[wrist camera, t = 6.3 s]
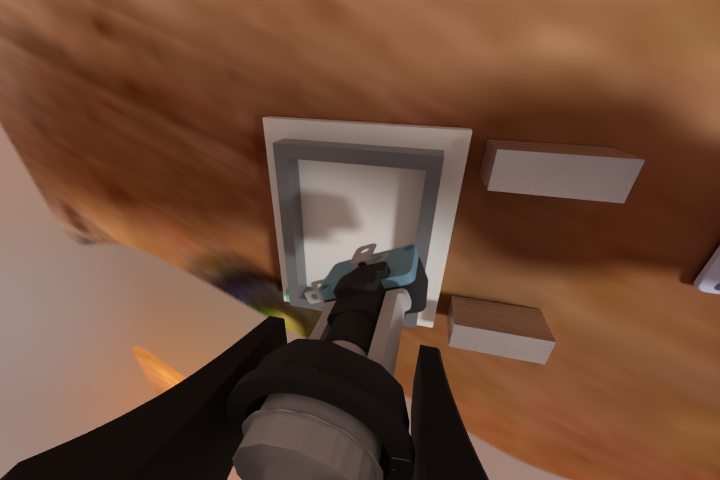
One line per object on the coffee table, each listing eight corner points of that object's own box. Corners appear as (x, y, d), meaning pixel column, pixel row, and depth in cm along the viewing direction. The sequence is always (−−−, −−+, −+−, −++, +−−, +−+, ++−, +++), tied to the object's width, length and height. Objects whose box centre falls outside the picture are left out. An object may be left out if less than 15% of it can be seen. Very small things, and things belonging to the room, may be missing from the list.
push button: (335, 315, 18) (236, 524, 10) (295, 242, 16) (129, 418, 8) (443, 298, 15) (440, 562, 7) (410, 208, 14) (351, 416, 5)
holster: (609, 146, 15) (645, 159, 13) (531, 330, 21) (544, 364, 19) (487, 138, 16) (497, 149, 14) (447, 315, 22) (448, 346, 20)
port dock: (470, 128, 16) (476, 134, 14) (432, 318, 23) (432, 342, 21) (270, 116, 18) (248, 120, 16) (289, 293, 25) (275, 313, 23)
